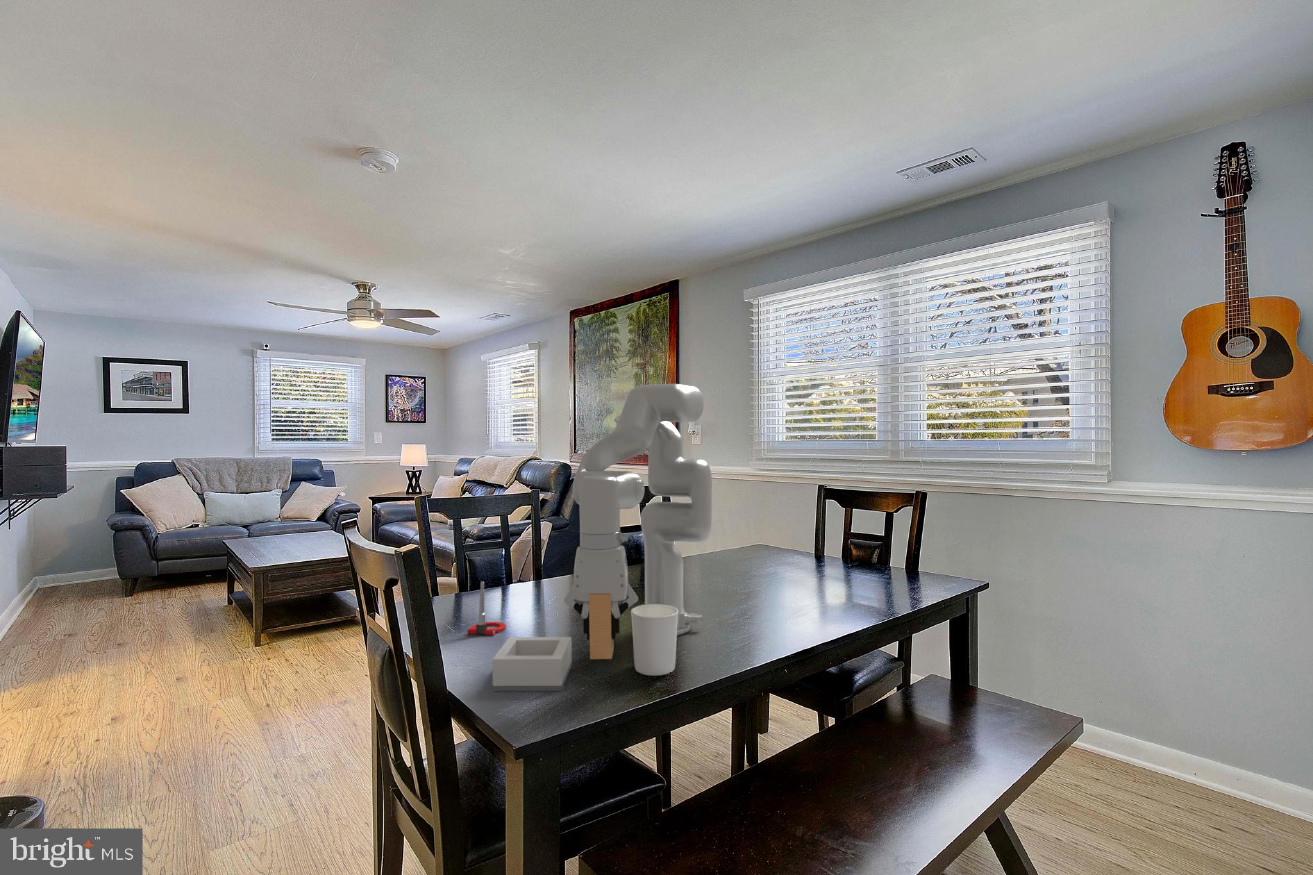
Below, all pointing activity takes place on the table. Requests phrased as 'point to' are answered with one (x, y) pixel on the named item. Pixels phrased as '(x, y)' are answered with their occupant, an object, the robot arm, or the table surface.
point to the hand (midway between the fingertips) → (601, 636)
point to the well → (532, 664)
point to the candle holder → (654, 638)
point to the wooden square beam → (600, 626)
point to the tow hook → (482, 625)
